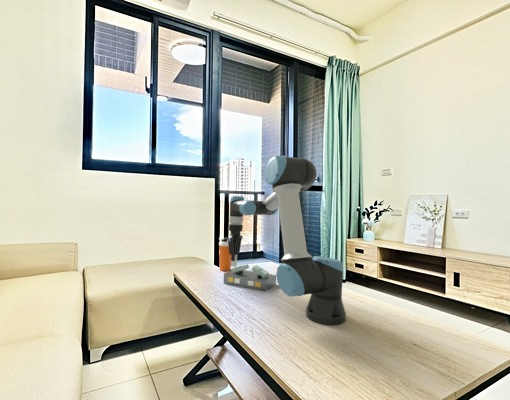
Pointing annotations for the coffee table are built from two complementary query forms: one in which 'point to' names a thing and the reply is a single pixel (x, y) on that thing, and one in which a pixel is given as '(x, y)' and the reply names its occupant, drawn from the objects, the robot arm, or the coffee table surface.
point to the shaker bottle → (224, 255)
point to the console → (250, 280)
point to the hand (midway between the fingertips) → (233, 266)
